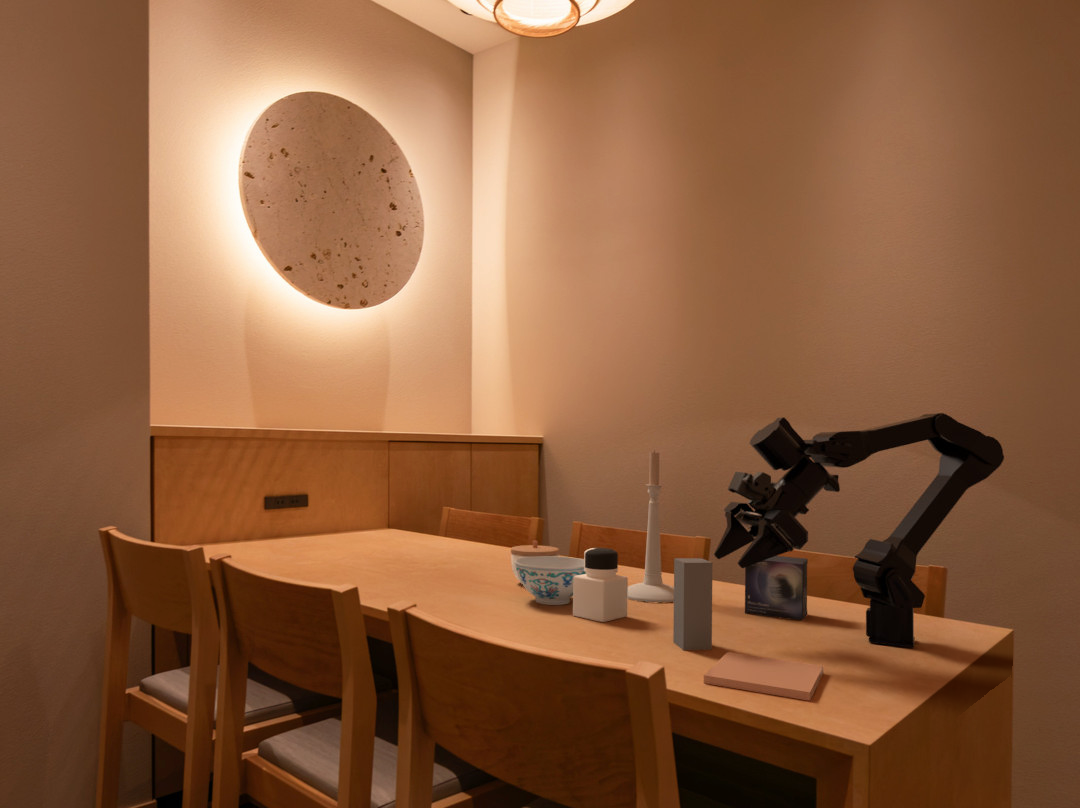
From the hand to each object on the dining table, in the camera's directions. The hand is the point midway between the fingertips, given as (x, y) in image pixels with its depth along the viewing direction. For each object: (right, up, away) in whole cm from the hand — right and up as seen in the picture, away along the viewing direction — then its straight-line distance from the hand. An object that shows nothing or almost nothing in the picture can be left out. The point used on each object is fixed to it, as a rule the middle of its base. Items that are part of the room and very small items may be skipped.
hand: (727, 561), depth 116 cm
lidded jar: (-31, -15, +48) cm, 59 cm away
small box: (+15, -15, +23) cm, 31 cm away
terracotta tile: (+1, -12, -17) cm, 21 cm away
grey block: (-6, -13, -2) cm, 14 cm away
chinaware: (-27, -14, +29) cm, 42 cm away
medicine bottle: (-19, -14, +17) cm, 29 cm away
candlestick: (-6, -15, +37) cm, 40 cm away
